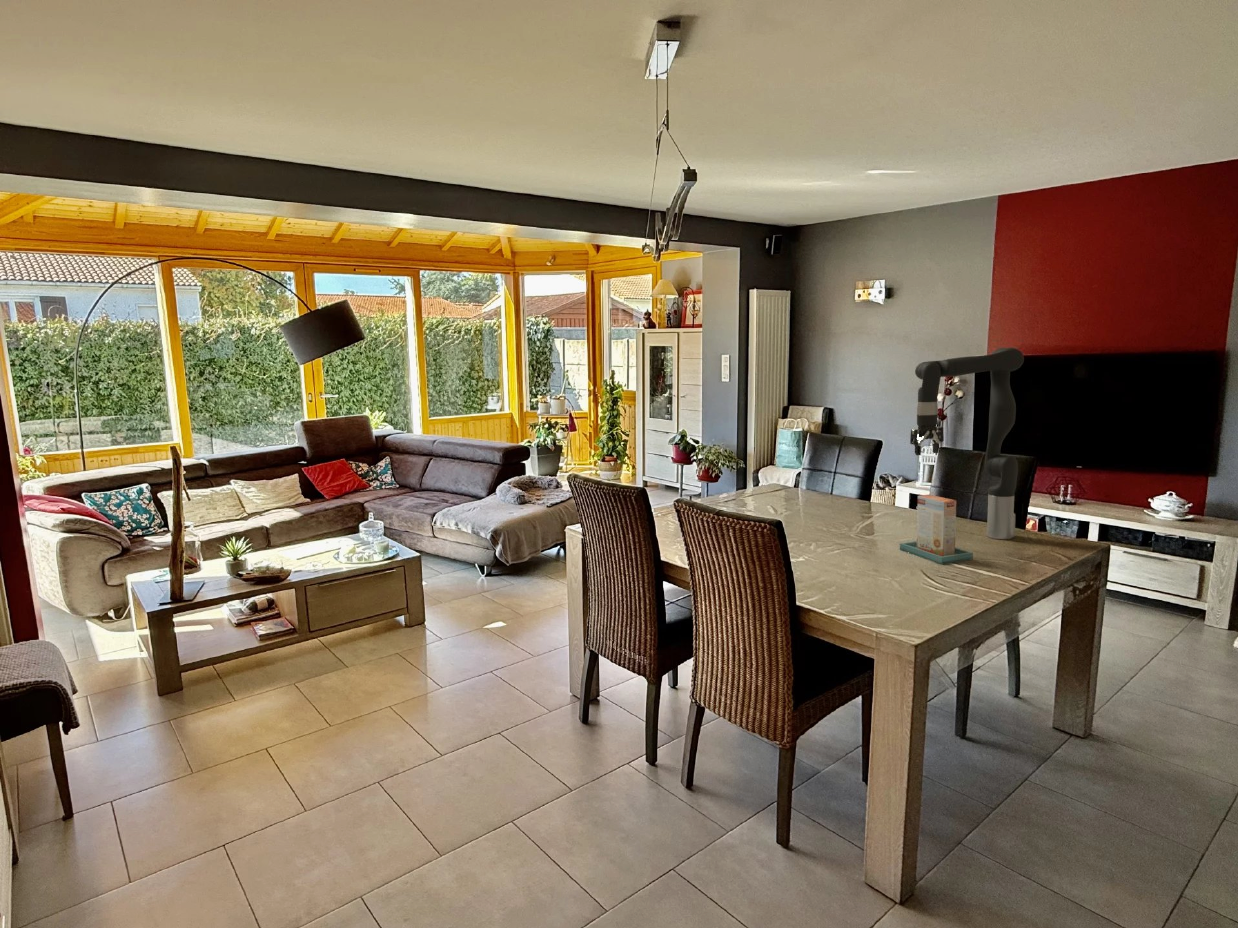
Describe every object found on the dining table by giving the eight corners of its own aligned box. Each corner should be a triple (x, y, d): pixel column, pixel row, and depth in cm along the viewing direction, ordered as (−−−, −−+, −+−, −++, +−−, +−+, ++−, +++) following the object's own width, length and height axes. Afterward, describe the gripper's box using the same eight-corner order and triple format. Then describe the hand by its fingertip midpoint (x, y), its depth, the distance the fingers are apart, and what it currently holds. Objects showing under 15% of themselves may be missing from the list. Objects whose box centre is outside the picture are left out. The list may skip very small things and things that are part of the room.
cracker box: (955, 555, 269) (957, 499, 266) (942, 557, 267) (943, 501, 264) (928, 546, 282) (929, 493, 279) (915, 548, 280) (916, 495, 277)
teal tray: (929, 545, 287) (929, 539, 287) (972, 559, 266) (972, 552, 266) (899, 549, 283) (899, 543, 282) (941, 564, 262) (941, 557, 262)
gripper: (934, 411, 293) (934, 451, 296) (905, 414, 288) (905, 454, 291) (949, 412, 286) (948, 453, 289) (919, 415, 281) (919, 457, 284)
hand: (926, 454), depth 290 cm, fingers open, 8 cm apart
